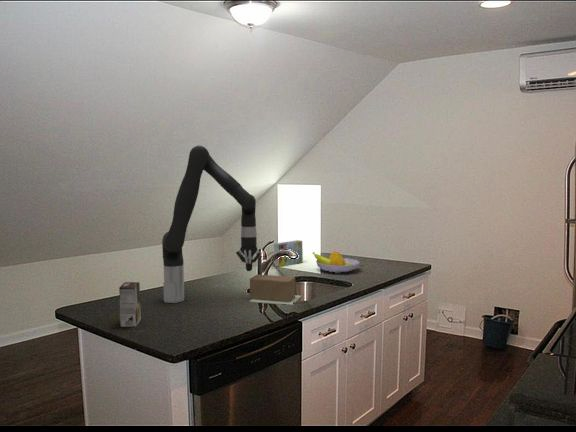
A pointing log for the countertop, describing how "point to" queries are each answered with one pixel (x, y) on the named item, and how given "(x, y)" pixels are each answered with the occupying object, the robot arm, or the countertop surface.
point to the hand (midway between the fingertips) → (249, 270)
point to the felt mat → (276, 301)
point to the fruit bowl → (336, 263)
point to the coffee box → (130, 304)
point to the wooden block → (272, 288)
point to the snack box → (293, 246)
